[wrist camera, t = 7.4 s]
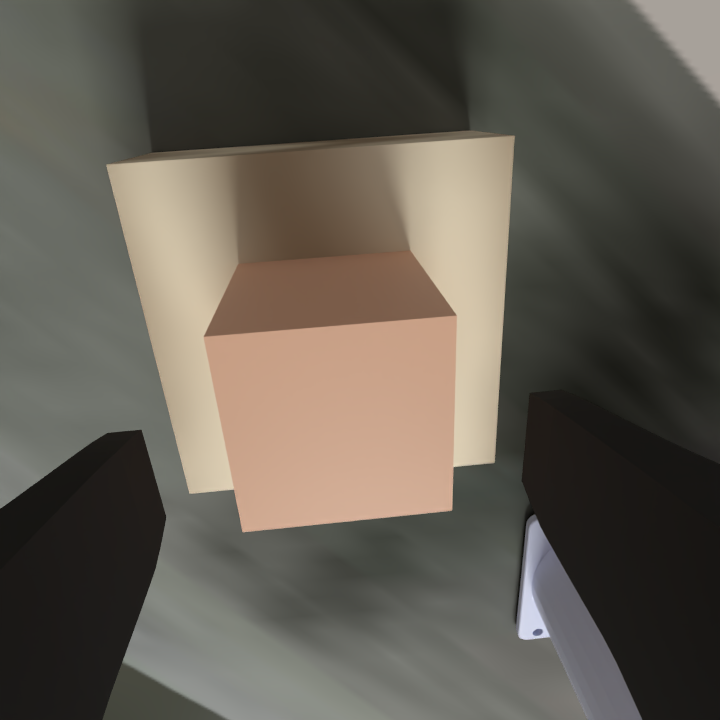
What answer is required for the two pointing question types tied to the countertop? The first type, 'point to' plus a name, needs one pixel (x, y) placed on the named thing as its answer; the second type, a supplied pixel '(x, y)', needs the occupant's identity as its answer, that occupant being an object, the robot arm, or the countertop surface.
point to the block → (335, 389)
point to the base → (317, 253)
